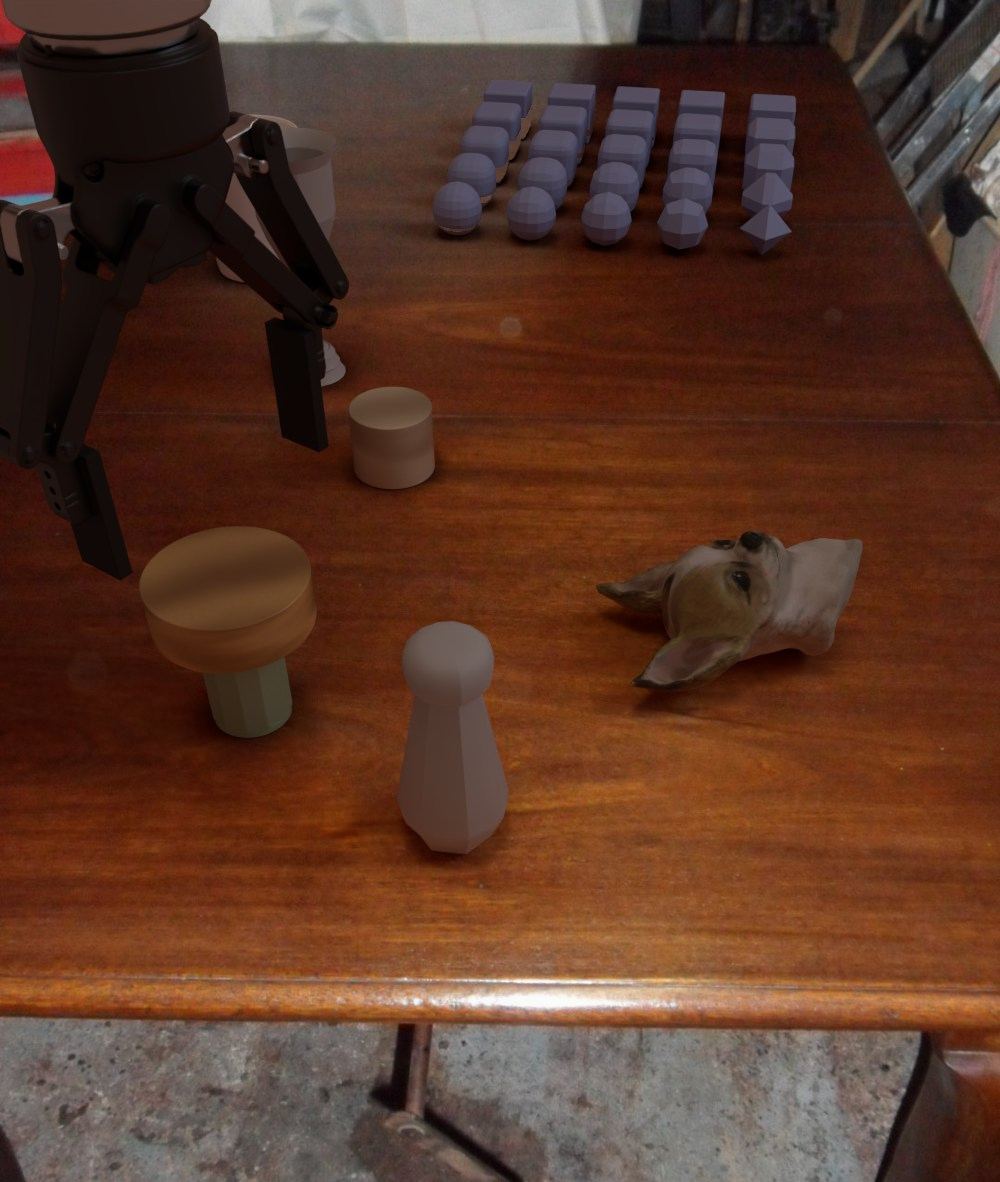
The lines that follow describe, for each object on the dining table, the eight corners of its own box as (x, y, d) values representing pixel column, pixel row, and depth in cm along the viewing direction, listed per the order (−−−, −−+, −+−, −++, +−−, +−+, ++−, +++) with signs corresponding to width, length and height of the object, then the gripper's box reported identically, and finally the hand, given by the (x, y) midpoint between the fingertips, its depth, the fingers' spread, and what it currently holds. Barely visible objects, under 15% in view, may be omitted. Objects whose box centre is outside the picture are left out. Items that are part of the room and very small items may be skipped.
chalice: (314, 343, 102) (287, 121, 90) (374, 365, 100) (356, 139, 87) (254, 378, 98) (218, 149, 86) (316, 402, 95) (288, 169, 83)
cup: (208, 692, 71) (187, 601, 66) (285, 677, 72) (269, 586, 67) (218, 745, 68) (196, 653, 63) (298, 728, 69) (283, 636, 64)
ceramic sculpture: (903, 572, 65) (635, 614, 64) (878, 688, 71) (633, 728, 70) (833, 468, 72) (592, 503, 71) (816, 581, 78) (594, 615, 77)
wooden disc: (143, 585, 67) (132, 541, 65) (301, 556, 69) (294, 513, 67) (158, 688, 61) (146, 644, 59) (331, 654, 63) (325, 610, 61)
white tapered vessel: (332, 271, 113) (318, 137, 104) (237, 297, 109) (215, 160, 100) (285, 236, 119) (268, 107, 110) (193, 259, 115) (169, 127, 106)
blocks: (788, 141, 137) (796, 95, 134) (787, 268, 113) (796, 215, 110) (491, 123, 142) (491, 78, 138) (428, 241, 118) (426, 190, 114)
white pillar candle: (347, 452, 90) (340, 393, 86) (423, 440, 91) (420, 381, 88) (363, 495, 86) (357, 434, 82) (444, 482, 87) (441, 421, 84)
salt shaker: (382, 849, 62) (361, 665, 53) (425, 774, 66) (413, 590, 57) (485, 880, 61) (482, 697, 52) (524, 802, 65) (527, 618, 56)
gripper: (-121, 138, 36) (62, 662, 51) (401, -28, 50) (425, 418, 65) (-254, 93, 39) (-45, 599, 54) (273, -51, 54) (324, 379, 68)
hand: (212, 501), depth 60 cm, fingers open, 13 cm apart
